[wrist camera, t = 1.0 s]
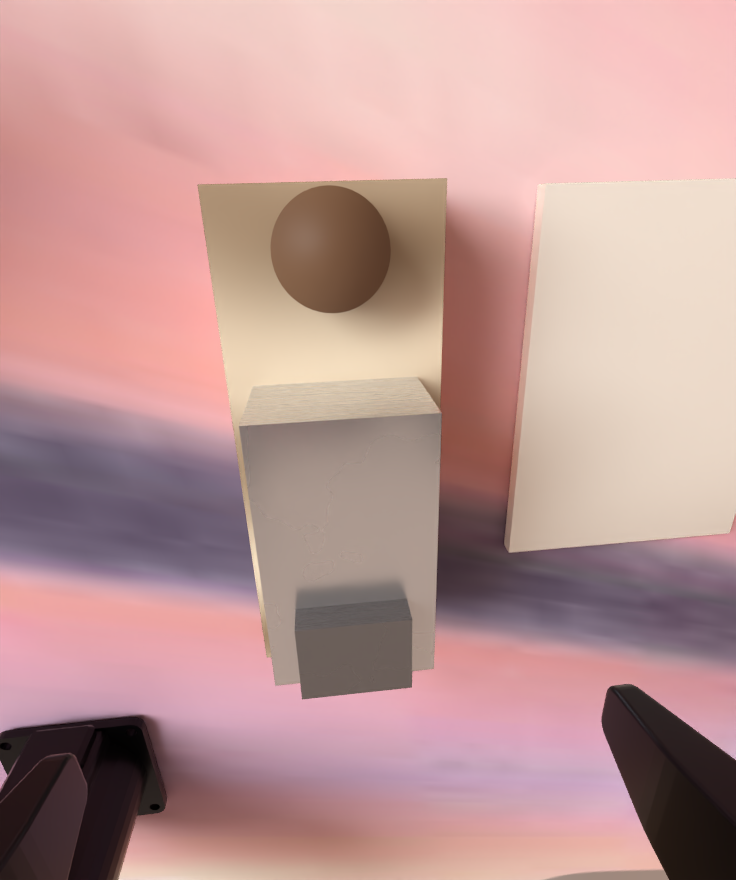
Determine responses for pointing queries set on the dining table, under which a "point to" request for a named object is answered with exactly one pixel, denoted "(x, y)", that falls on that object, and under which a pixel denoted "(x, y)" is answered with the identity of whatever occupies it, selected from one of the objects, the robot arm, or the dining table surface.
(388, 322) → the body
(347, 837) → the dining table surface
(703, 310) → the board
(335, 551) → the lever cap
